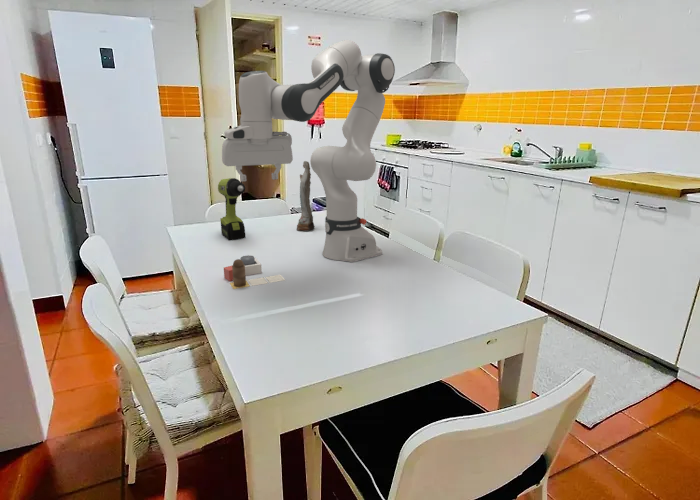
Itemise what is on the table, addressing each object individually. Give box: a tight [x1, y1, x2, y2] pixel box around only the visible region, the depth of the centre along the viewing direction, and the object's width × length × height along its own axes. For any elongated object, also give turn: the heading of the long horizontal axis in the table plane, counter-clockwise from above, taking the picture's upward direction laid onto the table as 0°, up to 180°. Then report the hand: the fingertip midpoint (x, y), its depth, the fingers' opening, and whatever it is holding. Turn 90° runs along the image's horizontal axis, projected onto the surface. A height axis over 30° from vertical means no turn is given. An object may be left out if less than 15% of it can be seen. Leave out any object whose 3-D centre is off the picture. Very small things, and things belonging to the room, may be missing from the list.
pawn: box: [231, 258, 247, 288], centre depth 126 cm, size 4×4×8 cm
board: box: [229, 274, 286, 290], centre depth 134 cm, size 17×20×1 cm
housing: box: [245, 257, 263, 276], centre depth 137 cm, size 7×7×3 cm
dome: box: [240, 254, 255, 266], centre depth 137 cm, size 4×4×4 cm
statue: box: [296, 160, 315, 232], centre depth 184 cm, size 8×7×30 cm
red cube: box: [223, 264, 233, 282], centre depth 131 cm, size 4×4×4 cm
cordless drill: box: [217, 177, 247, 241], centre depth 170 cm, size 23×7×25 cm, turn 32°
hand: (259, 180), depth 125 cm, fingers open, 8 cm apart
